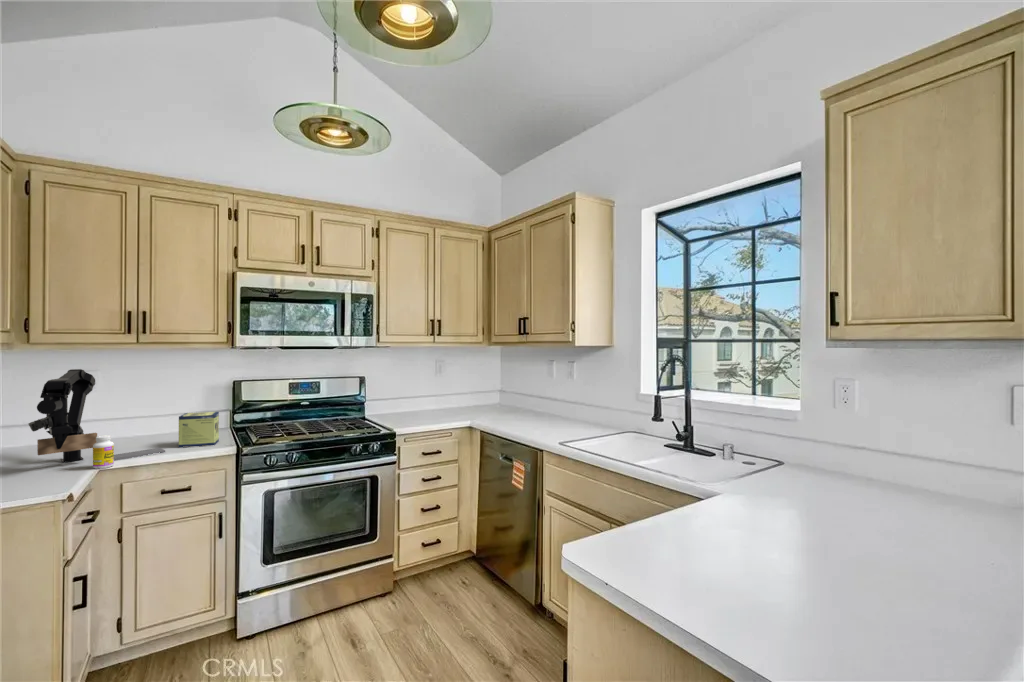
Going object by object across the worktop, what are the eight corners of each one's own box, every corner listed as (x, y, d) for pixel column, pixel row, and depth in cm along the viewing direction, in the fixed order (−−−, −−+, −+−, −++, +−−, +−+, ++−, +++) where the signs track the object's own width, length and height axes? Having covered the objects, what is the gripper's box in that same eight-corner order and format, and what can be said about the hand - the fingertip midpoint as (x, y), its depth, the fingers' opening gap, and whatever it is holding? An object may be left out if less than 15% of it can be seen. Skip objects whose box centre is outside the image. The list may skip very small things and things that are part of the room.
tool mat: (99, 459, 208) (99, 456, 208) (159, 449, 226) (159, 447, 226) (104, 462, 204) (104, 459, 203) (165, 452, 221) (165, 450, 221)
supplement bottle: (104, 469, 193) (104, 438, 193) (88, 469, 193) (88, 438, 193) (118, 464, 200) (118, 434, 199) (102, 464, 200) (102, 434, 200)
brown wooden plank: (38, 455, 189) (38, 440, 189) (37, 454, 190) (37, 439, 190) (97, 447, 203) (97, 433, 203) (95, 446, 204) (95, 432, 204)
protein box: (215, 445, 235) (215, 414, 235) (177, 448, 229) (177, 416, 229) (219, 441, 245) (219, 411, 245) (183, 443, 239) (183, 412, 239)
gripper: (26, 410, 193) (27, 448, 194) (33, 415, 182) (34, 455, 182) (63, 407, 202) (64, 443, 202) (72, 411, 191) (73, 450, 191)
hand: (58, 448), depth 194 cm, fingers closed on brown wooden plank, 2 cm apart
